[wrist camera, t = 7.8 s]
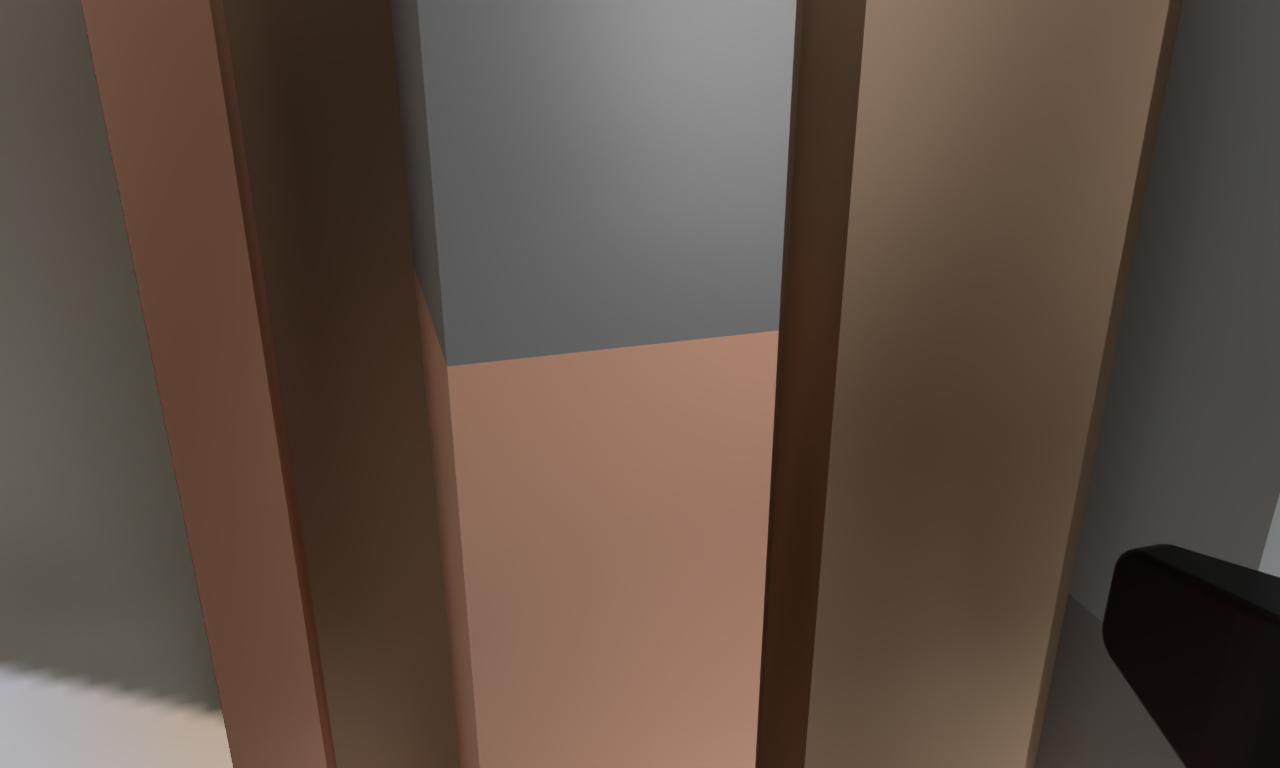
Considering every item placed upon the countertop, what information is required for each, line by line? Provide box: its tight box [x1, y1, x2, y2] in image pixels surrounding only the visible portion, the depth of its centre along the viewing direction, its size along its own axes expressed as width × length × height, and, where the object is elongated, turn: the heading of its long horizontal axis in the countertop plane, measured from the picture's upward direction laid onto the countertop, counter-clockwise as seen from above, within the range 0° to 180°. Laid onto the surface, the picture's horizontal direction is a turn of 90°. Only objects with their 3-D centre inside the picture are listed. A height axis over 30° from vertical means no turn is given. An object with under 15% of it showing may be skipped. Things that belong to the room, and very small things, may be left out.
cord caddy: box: [81, 0, 1183, 768], centre depth 12 cm, size 15×13×2 cm
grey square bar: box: [1034, 0, 1280, 768], centre depth 12 cm, size 11×2×2 cm, turn 0°
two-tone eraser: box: [390, 0, 797, 768], centre depth 10 cm, size 11×2×2 cm, turn 0°
